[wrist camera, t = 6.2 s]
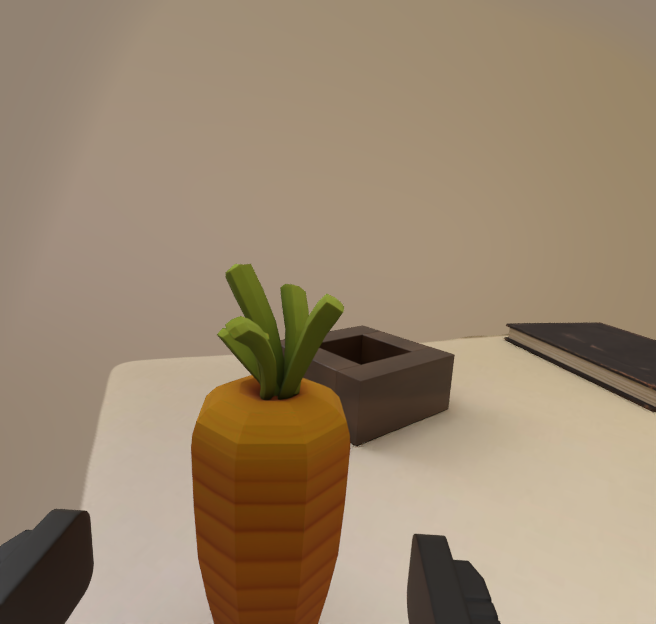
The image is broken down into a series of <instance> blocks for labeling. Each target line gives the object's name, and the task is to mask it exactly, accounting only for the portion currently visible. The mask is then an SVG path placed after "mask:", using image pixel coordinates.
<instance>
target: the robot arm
mask: <svg viewBox="0 0 656 624" xmlns="http://www.w3.org/2000/svg"><path fill="white" fill-rule="evenodd" d="M93 566H94V561H93V548H92V534H91V521H90V515H89V513H88V512H87V511H82V510H65V509H54V510H52V511H51V512H49V514H47V516H46V517H45V518H44V519H43V520H42V521H41V522H40V523H39V524H38V525H37V526H36V527H35V528H34V529H33V530H25V531H23V532H22V533H20V534H19V535H17V536H15V537H14V538H12V539H10V540H9V541H7V542H6V543H4V544H2V545H1V546H0V624H65V622H66V621H67V619H68V618H69V616H70V615H71V613H72V612H73V610H74V609H75V607H76V606H77V604H78V603H79V601H80V600H81V598H82V597H83V595H84V594H85V592H86V590H87V588H88V586H89V583H90V581H91V577H92V573H93ZM407 610H408V619H409V624H501V623H500V621H498V615H497V613H496V610H495V607H494V605H493V603H492V602H491V597H490V594H489V591H488V589H487V586H486V583H485V581H484V579H483V577H482V576H481V575H480V574H479V573H478V572H477V570H476V569H475V568H474V567H473V566H472V565H471V563H470V562H469V561H462V560H453V558H452V555H451V552H450V548H449V545H448V542H447V539H446V537H445V536H440V535H425V534H414V535H413V539H412V547H411V557H410V566H409V575H408V585H407Z"/></svg>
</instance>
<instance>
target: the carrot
mask: <svg viewBox="0 0 656 624" xmlns="http://www.w3.org/2000/svg"><path fill="white" fill-rule="evenodd" d="M226 279H227V281H228V283H229V286H230V288H231V290H232V292H233V294H234V296H235V298H236V300H237V302H238V304H239V306H240V308H241V310H242V312H243V314H244V316H245V318H244V317H242V316H240V317H237V318H234V319H232V320H231V321H229V322H228V323H227V324H226V325H225V326H226V328H222V330H221V331H220V332H219V333H218V334H217V335H218V336H219V337H220V339H221V340H222V341H223V342H224V343H225V345H226V346H227V347H228V348H229V349H230V350H231V352H232V353H233V354H234V355H235V356H236V358H237V359H238V360H239V361H240V362H241V363H242V364H243V365H244V367H245V368H246V369H247V370H248V371H249V372H250V373H251V374H252V375H250V376H247V377H244V378H241V379H238V380H235V381H232V382H229V383H226V384H223V385H221V386H218V387H216V388H215V389H214V390H212V391H211V392H210V393H209V394H208V395H207V396H206V398H205V401H204V403H203V406H202V408H201V411H200V414H199V416H198V419H197V421H196V425H195V428H194V431H193V435H192V444H191V455H192V477H193V499H194V514H195V526H196V538H197V550H198V560H199V565H200V569H201V574H202V578H203V583H204V587H205V592H206V596H207V600H208V603H209V607H210V610H211V614H212V617H213V621H214V624H318V622H319V619H320V616H321V612H322V609H323V606H324V603H325V600H326V597H327V594H328V590H329V587H330V583H331V579H332V575H333V571H334V568H335V564H336V560H337V556H338V551H339V543H340V536H341V528H342V520H343V513H344V505H345V496H346V486H347V475H348V465H349V455H350V434H349V429H348V425H347V421H346V418H345V414H344V411H343V408H342V404H341V401H340V398H339V396H338V395H337V394H336V393H335V392H334V391H333V390H332V389H331V388H328V387H326V386H324V385H321V384H319V383H316V382H313V381H310V380H307V379H305V378H303V376H304V375H305V373H306V371H307V369H308V367H309V365H310V363H311V362H312V360H313V358H314V356H315V354H316V353H317V351H318V349H319V347H320V345H321V344H322V342H323V340H324V338H325V336H326V335H327V333H328V332H329V331H330V329H331V328H332V327H333V325H334V324H335V323H336V322H337V320H338V319H339V317H340V316H341V314H342V313H343V310H344V306H343V304H342V303H341V302H340V301H339V300H337V299H336V298H335V297H333V296H331V295H329V294H326V295H325V296H324V297H323V298H322V299H321V300H320V301H319V302H318V303H317V304H316V306H315V307H314V309H313V311H312V312H311V313H310V315H309V312H308V304H307V298H306V292H305V291H304V290H303V289H302V288H300V287H299V286H295V285H292V284H285V285H283V286H282V287H281V299H282V308H283V315H284V322H285V329H286V330H285V353H284V356H283V351H282V346H281V341H280V337H279V333H278V329H277V325H276V320H275V318H274V316H273V313H272V311H271V308H270V306H269V303H268V301H267V298H266V295H265V293H264V291H263V288H262V286H261V284H260V282H259V280H258V278H257V276H256V274H255V272H254V270H253V267H252V266H251V264H246V265H242V264H235V265H234V266H232V267H231V268H230V269H229V270H228V271H227V272H226Z"/></svg>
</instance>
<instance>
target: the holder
mask: <svg viewBox="0 0 656 624" xmlns="http://www.w3.org/2000/svg"><path fill="white" fill-rule="evenodd" d="M280 341H281V346H282V351H283V356H284V353H285V339H284V340H280ZM453 363H454V354H451V353H448V352H444V351H441V350H438V349H435V348H432V347H428V346H425V345H422V344H419V343H416V342H413V341H409V340H406V339H403V338H400V337H397V336H394V335H391V334H388V333H385V332H381V331H378V330H375V329H372V328H369V327H366V326H357V327H352V328H346V329H340V330H335V331H329V332H328V333H327V335H326V336H325V338H324V340H323V342H322V344H321V345H320V347H319V349H318V351H317V353H316V354H315V356H314V358H313V360H312V362H311V363H310V365H309V367H308V369H307V371H306V373H305V375H304V376H303V378H305V379H307V380H310V381H313V382H316V383H319V384H321V385H324V386H326V387H328V388H331V389H332V390H333V391H334V392H335V393H336V394H337V395H338V396H339V398H340V401H341V404H342V408H343V411H344V414H345V418H346V421H347V425H348V429H349V434H350V443H352V444H354V445H355V446H357V445H360V444H362V443H365V442H367V441H370V440H372V439H374V438H377V437H379V436H382V435H384V434H387V433H389V432H392V431H394V430H397V429H399V428H402V427H404V426H407V425H409V424H412V423H414V422H417V421H419V420H421V419H424V418H426V417H429V416H431V415H434V414H436V413H439V412H441V411H444V410H446V409H448V406H449V398H450V389H451V380H452V372H453Z"/></svg>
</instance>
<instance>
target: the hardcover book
mask: <svg viewBox="0 0 656 624" xmlns="http://www.w3.org/2000/svg"><path fill="white" fill-rule="evenodd" d="M506 326H508V327H510V331H509V336H508V337H505V338H504V339H505V340H507V341H509V342H511V343H513V344H515V345H517V346H519V347H521V348H523V349H525V350H527V351H529V352H531V353H534V354H536V355H538V356H540V357H542V358H544V359H546V360H548V361H550V362H552V363H554V364H556V365H558V366H560V367H562V368H564V369H567V370H569V371H571V372H573V373H575V374H577V375H579V376H581V377H583V378H585V379H587V380H589V381H591V382H593V383H595V384H597V385H600V386H602V387H604V388H606V389H608V390H610V391H612V392H614V393H616V394H618V395H620V396H622V397H624V398H626V399H628V400H631V401H633V402H635V403H637V404H639V405H641V406H643V407H645V408H647V409H649V410H651V411H656V340H653V339H650V338H647V337H644V336H641V335H637V334H634V333H631V332H628V331H625V330H622V329H618V328H616V327H613V326H609V325H606V324H603V323H522V324H520V323H518V324H507V325H506Z"/></svg>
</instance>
